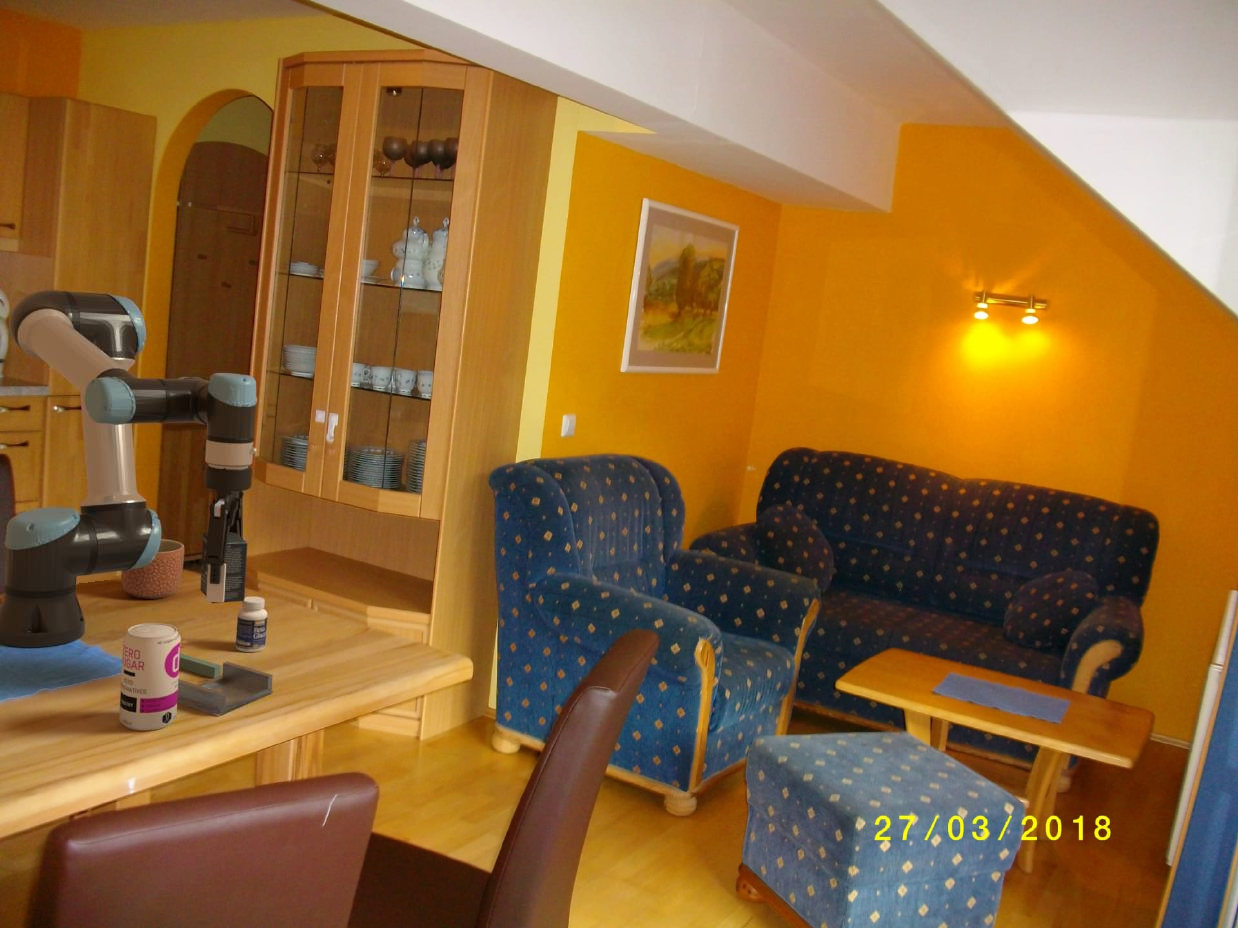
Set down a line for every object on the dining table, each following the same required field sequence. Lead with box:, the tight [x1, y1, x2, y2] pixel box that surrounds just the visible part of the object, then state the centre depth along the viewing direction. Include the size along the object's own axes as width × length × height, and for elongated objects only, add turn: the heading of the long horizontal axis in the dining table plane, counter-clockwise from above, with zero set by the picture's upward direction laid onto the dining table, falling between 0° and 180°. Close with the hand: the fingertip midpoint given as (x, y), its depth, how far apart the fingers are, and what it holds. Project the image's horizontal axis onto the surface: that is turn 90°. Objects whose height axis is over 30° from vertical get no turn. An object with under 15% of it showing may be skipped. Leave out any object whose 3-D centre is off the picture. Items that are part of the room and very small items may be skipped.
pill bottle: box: [235, 596, 268, 653], centre depth 199 cm, size 5×5×10 cm
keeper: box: [177, 661, 274, 717], centre depth 176 cm, size 10×13×3 cm
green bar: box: [179, 652, 222, 679], centre depth 187 cm, size 14×2×2 cm, turn 68°
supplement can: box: [118, 622, 182, 732], centre depth 163 cm, size 8×8×15 cm
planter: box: [120, 538, 185, 600], centre depth 224 cm, size 12×12×11 cm
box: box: [200, 532, 249, 604], centre depth 179 cm, size 8×6×11 cm
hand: (222, 593), depth 180 cm, fingers closed on box, 9 cm apart
